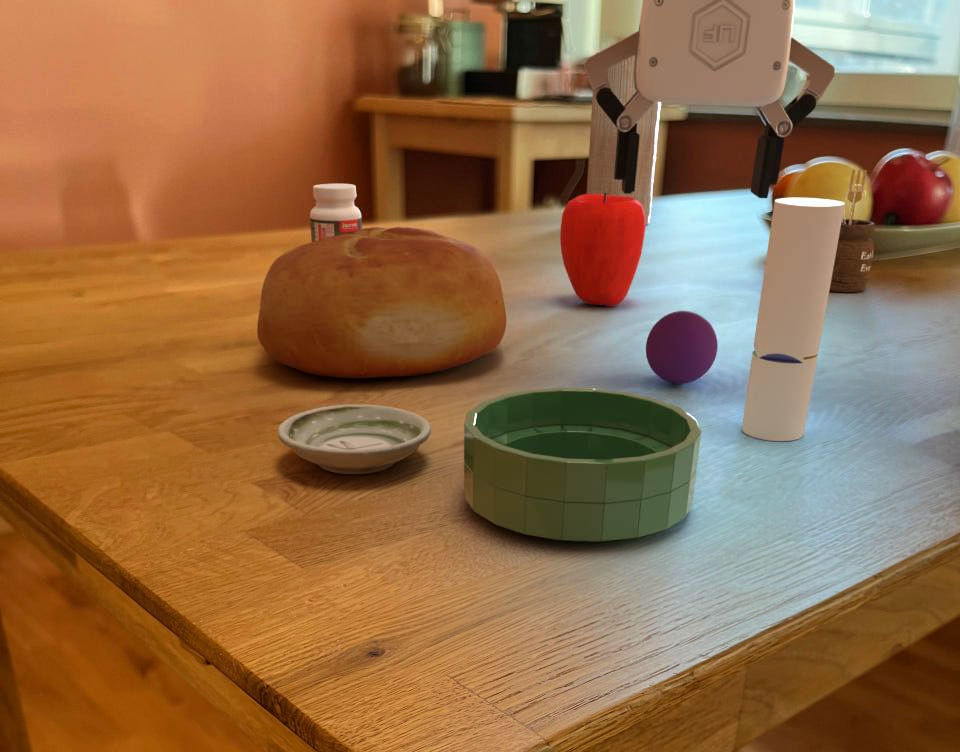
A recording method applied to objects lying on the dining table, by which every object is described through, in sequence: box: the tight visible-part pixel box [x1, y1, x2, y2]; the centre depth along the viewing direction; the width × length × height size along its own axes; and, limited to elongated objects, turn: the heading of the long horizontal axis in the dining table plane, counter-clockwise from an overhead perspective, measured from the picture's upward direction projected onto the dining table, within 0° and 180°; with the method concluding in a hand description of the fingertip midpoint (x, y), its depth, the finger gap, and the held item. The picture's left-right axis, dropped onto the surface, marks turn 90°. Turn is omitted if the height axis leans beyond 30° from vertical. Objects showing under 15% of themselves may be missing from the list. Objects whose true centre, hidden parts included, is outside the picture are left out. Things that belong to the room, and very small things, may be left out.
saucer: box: [277, 403, 432, 475], centre depth 65 cm, size 10×10×2 cm
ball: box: [645, 310, 719, 385], centre depth 81 cm, size 6×6×6 cm
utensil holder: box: [829, 169, 875, 293], centre depth 113 cm, size 6×6×12 cm
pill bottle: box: [309, 183, 363, 242], centre depth 114 cm, size 6×6×10 cm
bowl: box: [463, 387, 702, 543], centre depth 59 cm, size 13×13×5 cm
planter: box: [586, 55, 662, 226], centre depth 151 cm, size 10×10×23 cm
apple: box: [559, 193, 646, 307], centre depth 105 cm, size 9×9×11 cm
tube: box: [741, 197, 846, 442], centre depth 68 cm, size 4×4×15 cm
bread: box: [256, 226, 507, 379], centre depth 86 cm, size 23×23×10 cm
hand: (692, 193), depth 75 cm, fingers open, 9 cm apart
